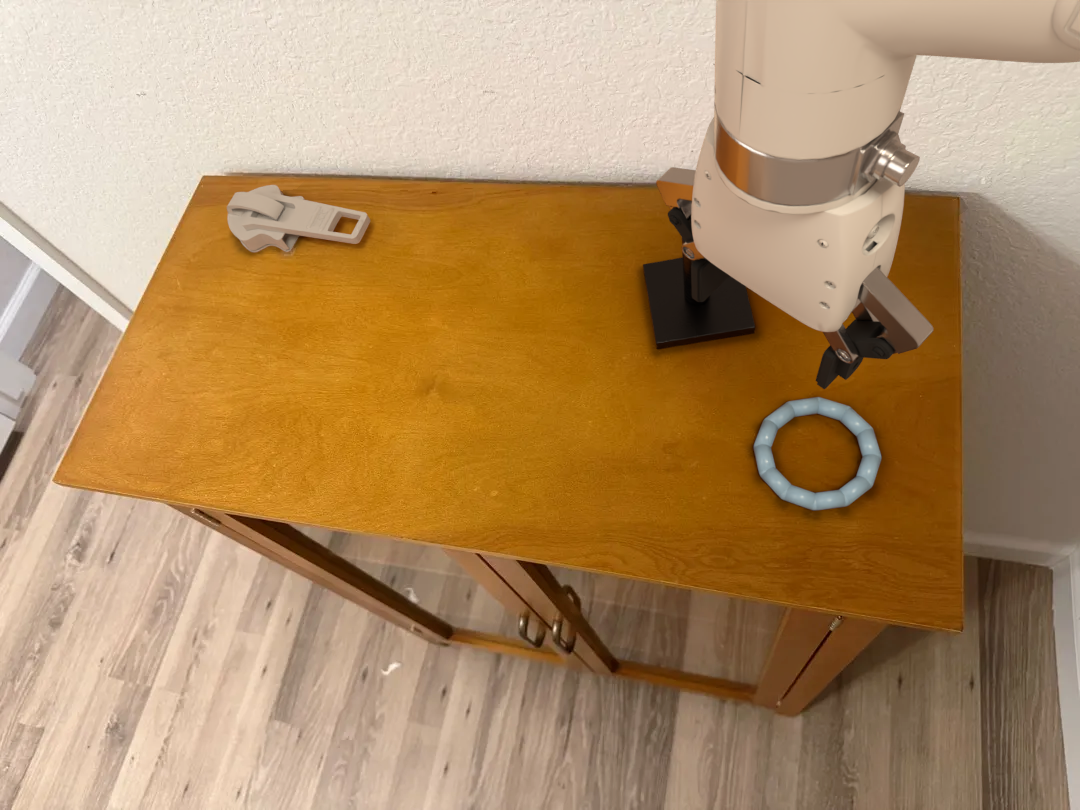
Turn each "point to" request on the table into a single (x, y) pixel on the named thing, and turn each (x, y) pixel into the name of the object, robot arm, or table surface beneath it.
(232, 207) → the zipper pull
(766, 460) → the ring
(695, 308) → the post
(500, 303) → the table surface
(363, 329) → the table surface
